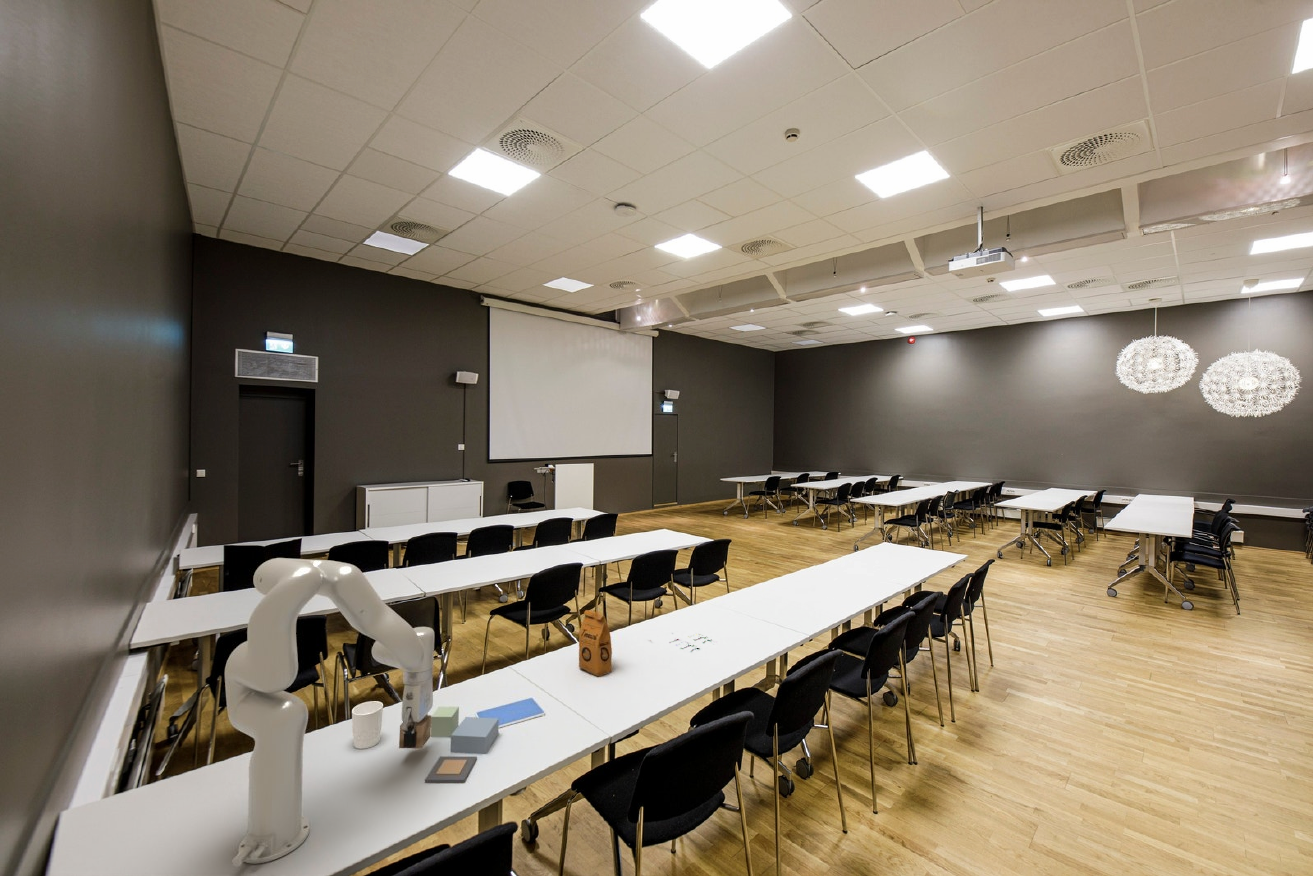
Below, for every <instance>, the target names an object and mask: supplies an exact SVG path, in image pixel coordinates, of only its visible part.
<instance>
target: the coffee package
mask: <svg viewBox="0 0 1313 876" xmlns="http://www.w3.org/2000/svg"><path fill="white" fill-rule="evenodd" d="M583 614H584V618H583V620H582V622H581V623H582V624H581V626H580V629H579V631H578V633H579V634H578V639H579V640H578V648H579V649H578V668H580V669H582V670H584V671H587V672H588V673H589V674H591V675H593V676H597V677H598V678H599V677H601V676H604V675H607V674H610V673H612V656H613V651H612V650H613V649H612V638H611V633H610V632H611V631H610V629H609V628H610V627H609V626H608V621H607V619H606V617H605V615H603V614H601V613H600V612H599V613H598V612H596V611H592V610H588V609H586V610H584V612H583ZM606 673H607V674H606Z"/></svg>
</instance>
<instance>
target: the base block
mask: <svg viewBox="0 0 1313 876" xmlns="http://www.w3.org/2000/svg"><path fill="white" fill-rule="evenodd" d="M498 727H499V719H498V718H478V717H476V716H465V717H464V719H463V720H462V721H461V722H460V723H459V724H458V727H457V728H456V730H455V731H454V732H453V733H452V735H451V737H450V753H456V754H457V753H458V754H460V753H461V754H477V755H486V754H487V752H488V751H489V749H490V748H491V746H492V744H493V743H494V742H495V740H496V739H497V737H498V735H499V728H498Z"/></svg>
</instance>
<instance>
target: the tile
mask: <svg viewBox="0 0 1313 876" xmlns="http://www.w3.org/2000/svg"><path fill="white" fill-rule="evenodd" d="M477 760H478V756H462V755H461V756H459V755H457V756H453V755H451V756H450V755H448V756H442V755H441V756H439V758H438V759H437V760H436V762H435V764H434V765H433V766H432V768H431V770H430V771H429V773H428V774H427V776H426V777H425V779H424V783H426V784H429V783H430V784H431V783H432V784H434V783H435V784H439V783H441V784H464V783H465V782H466V781H467V778H468V777H469V775H470V773H471V771H472V769H473V768H474V765H475V763H476V762H477Z"/></svg>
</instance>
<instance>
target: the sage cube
mask: <svg viewBox="0 0 1313 876" xmlns="http://www.w3.org/2000/svg"><path fill="white" fill-rule="evenodd" d="M459 711H460V707H459V706H438V707H437V708H436V709H435V711H434V712H433V714H432V715H431V733H430V738H451V735H452V733H453V732H454V731H455V730H456V728H457V727H458V726H459V719H460V718H459V717H460V716H459V715H460V713H459Z"/></svg>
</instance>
